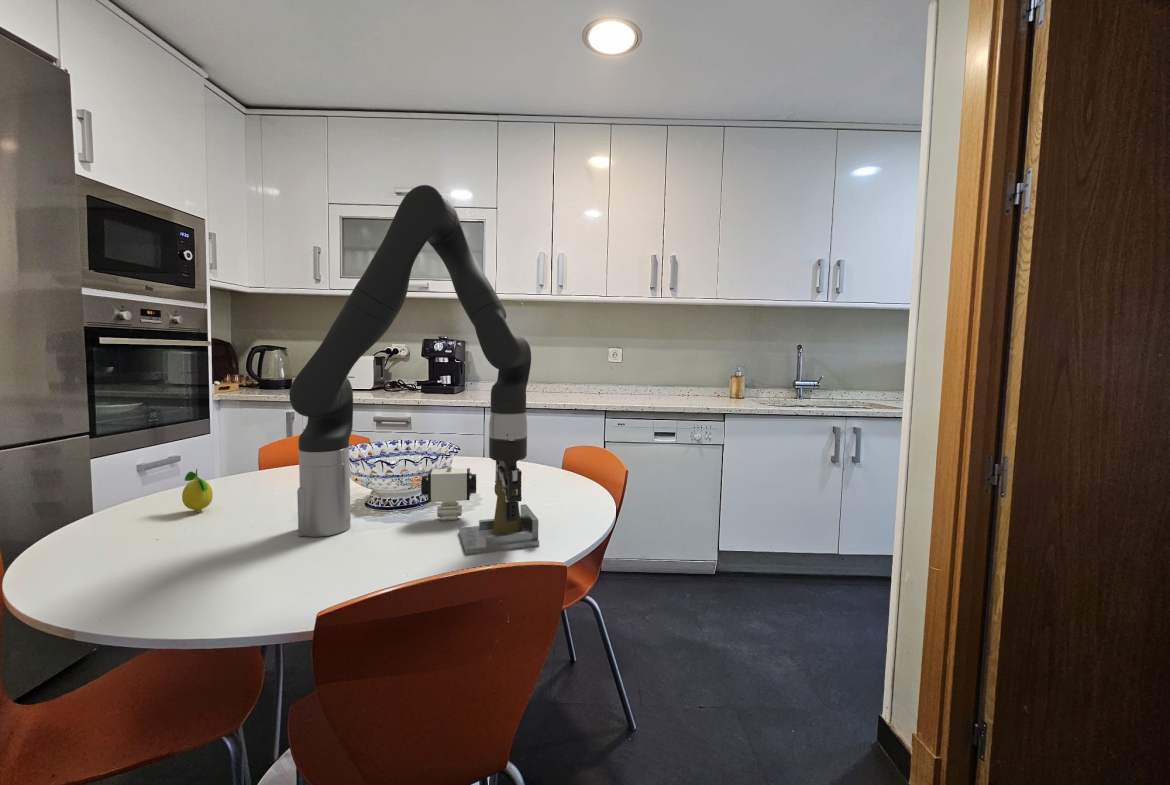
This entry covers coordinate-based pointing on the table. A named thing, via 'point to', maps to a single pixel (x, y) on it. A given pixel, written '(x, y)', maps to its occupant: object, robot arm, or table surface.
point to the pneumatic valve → (448, 490)
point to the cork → (504, 514)
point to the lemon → (196, 493)
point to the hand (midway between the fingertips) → (507, 514)
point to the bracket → (500, 535)
